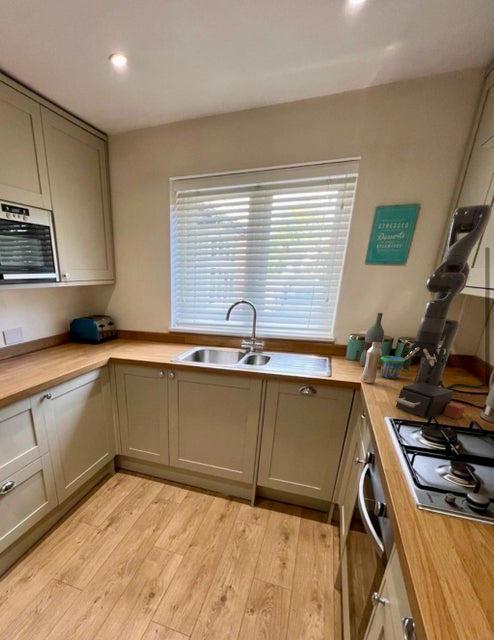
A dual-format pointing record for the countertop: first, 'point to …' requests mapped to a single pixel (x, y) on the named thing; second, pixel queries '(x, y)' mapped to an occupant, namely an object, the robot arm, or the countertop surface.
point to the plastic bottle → (372, 363)
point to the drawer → (413, 402)
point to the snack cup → (391, 366)
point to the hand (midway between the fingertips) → (417, 372)
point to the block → (454, 410)
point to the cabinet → (438, 397)
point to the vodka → (372, 337)
